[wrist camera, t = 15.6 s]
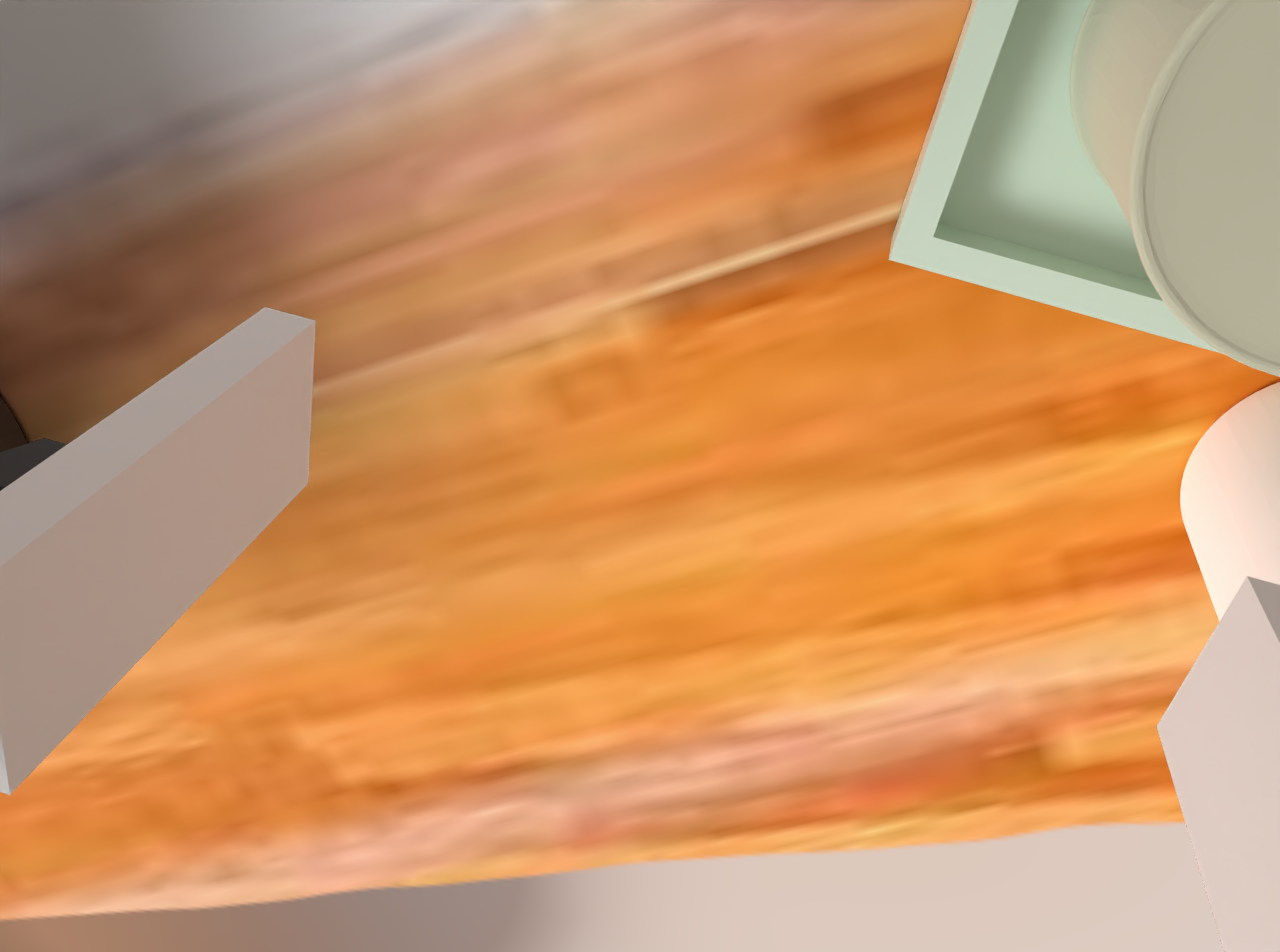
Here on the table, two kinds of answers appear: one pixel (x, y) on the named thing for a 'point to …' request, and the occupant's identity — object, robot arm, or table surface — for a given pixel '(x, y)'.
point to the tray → (1023, 178)
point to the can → (1192, 155)
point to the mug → (1236, 497)
